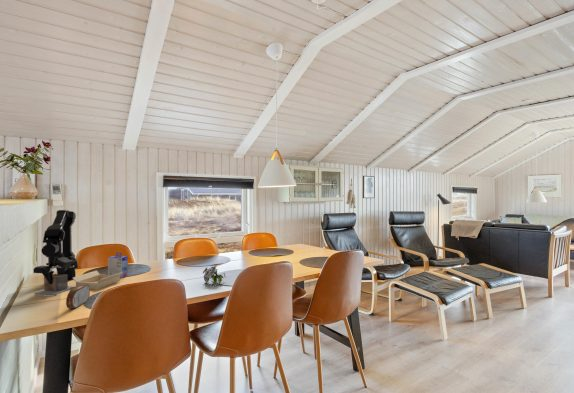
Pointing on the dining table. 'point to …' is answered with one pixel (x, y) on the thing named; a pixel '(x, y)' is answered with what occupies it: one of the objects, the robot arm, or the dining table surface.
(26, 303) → the dining table surface
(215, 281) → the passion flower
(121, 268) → the ink cartridge box
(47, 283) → the walnut block
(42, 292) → the felt pad
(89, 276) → the beige tray
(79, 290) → the tin
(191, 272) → the dining table surface
